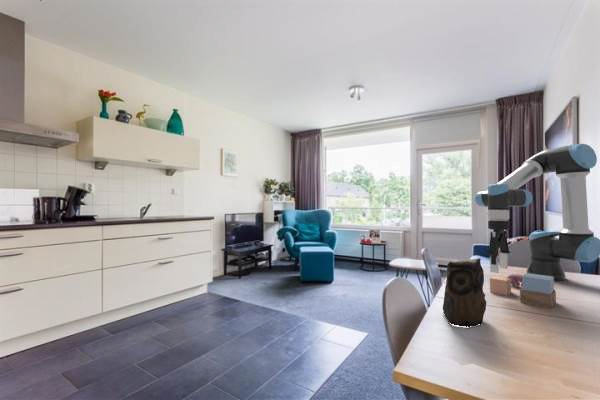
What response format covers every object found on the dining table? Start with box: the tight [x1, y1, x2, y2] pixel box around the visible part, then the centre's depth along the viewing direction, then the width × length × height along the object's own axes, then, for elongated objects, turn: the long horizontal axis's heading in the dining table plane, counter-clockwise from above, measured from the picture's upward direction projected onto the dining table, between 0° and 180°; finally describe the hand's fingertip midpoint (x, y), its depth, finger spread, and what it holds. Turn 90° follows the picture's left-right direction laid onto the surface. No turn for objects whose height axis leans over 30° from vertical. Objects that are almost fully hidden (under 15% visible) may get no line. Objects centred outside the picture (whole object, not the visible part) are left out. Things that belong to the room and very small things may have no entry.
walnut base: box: [519, 287, 557, 309], centre depth 107 cm, size 9×9×5 cm
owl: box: [442, 257, 487, 327], centre depth 90 cm, size 13×13×20 cm
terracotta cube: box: [489, 275, 512, 296], centre depth 121 cm, size 6×6×6 cm
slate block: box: [521, 272, 555, 295], centre depth 107 cm, size 8×8×5 cm
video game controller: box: [506, 273, 524, 288], centre depth 128 cm, size 10×5×7 cm, turn 25°
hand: (499, 270), depth 121 cm, fingers open, 13 cm apart
